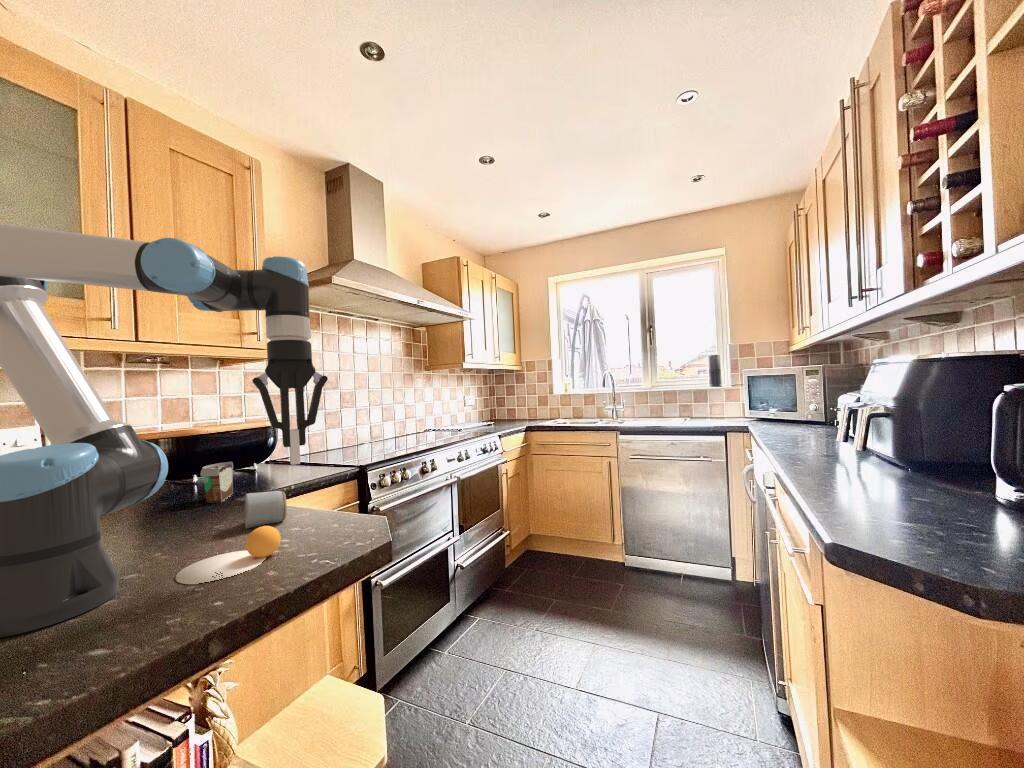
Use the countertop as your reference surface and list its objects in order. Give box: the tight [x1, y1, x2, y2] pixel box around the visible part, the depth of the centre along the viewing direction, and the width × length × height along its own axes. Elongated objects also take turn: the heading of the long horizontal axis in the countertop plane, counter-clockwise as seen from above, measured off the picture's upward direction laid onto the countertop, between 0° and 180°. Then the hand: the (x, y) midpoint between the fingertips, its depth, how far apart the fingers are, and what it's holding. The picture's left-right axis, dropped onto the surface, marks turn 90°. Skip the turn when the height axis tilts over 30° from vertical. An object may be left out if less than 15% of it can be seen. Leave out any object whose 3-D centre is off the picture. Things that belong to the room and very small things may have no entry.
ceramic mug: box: [244, 490, 288, 529], centre depth 97 cm, size 11×8×8 cm
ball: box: [245, 525, 282, 558], centre depth 76 cm, size 6×6×6 cm
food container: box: [199, 461, 234, 504], centre depth 121 cm, size 12×6×10 cm, turn 17°
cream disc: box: [175, 549, 267, 585], centre depth 73 cm, size 13×13×1 cm
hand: (295, 463), depth 79 cm, fingers closed
